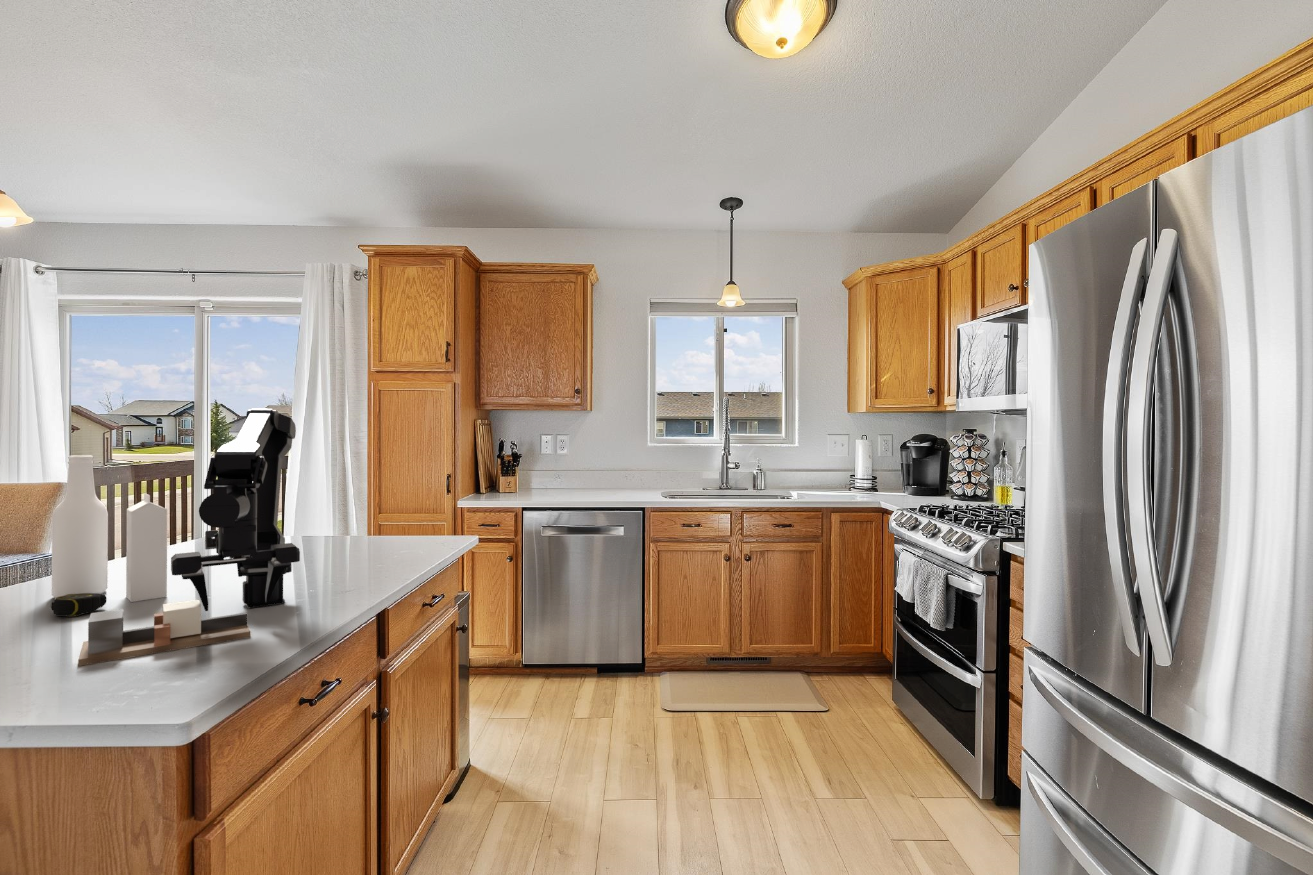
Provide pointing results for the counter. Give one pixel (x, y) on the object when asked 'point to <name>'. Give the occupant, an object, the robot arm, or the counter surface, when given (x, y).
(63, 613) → the tape measure
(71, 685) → the counter surface
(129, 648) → the board
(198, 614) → the sleeve
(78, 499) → the alcohol
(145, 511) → the milk
